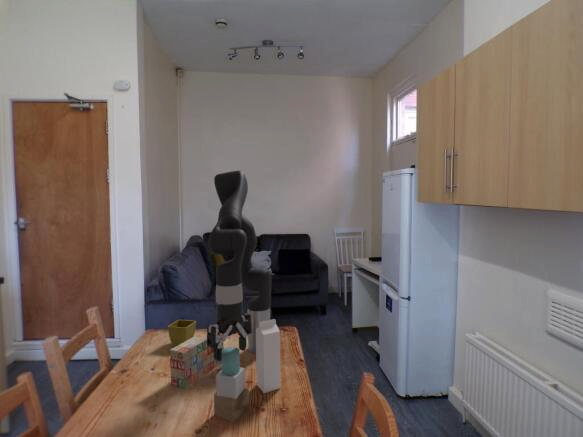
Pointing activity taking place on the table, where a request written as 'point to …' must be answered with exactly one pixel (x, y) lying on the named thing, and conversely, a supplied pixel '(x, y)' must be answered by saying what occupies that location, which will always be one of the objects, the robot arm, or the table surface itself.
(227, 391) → the grey block
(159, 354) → the table surface
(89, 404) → the table surface
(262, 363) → the milk
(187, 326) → the flower pot
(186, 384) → the stack of blocks
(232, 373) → the teal cylinder
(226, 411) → the walnut block
